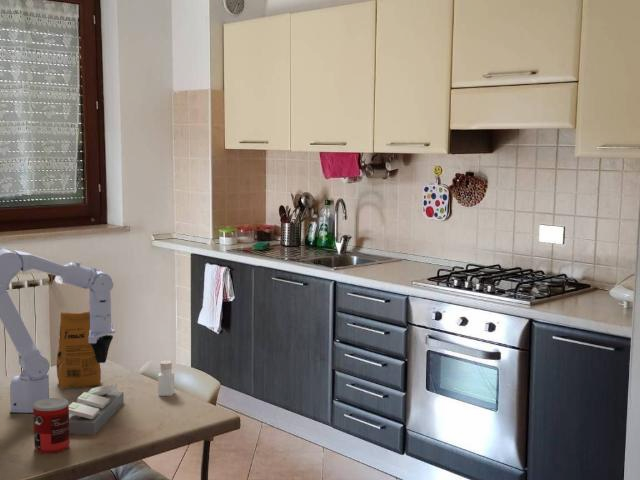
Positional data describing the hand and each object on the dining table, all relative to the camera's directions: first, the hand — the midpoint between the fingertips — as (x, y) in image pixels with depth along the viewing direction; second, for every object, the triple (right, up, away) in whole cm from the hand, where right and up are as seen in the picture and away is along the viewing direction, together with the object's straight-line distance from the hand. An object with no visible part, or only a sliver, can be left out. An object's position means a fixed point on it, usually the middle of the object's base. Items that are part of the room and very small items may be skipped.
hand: (101, 362), depth 222 cm
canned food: (-2, -15, -34) cm, 38 cm away
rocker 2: (+1, -10, -22) cm, 24 cm away
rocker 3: (+2, -8, -6) cm, 10 cm away
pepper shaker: (+17, -10, +5) cm, 21 cm away
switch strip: (+2, -12, -12) cm, 17 cm away
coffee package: (-10, -9, +14) cm, 19 cm away
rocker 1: (+2, -9, -14) cm, 17 cm away
